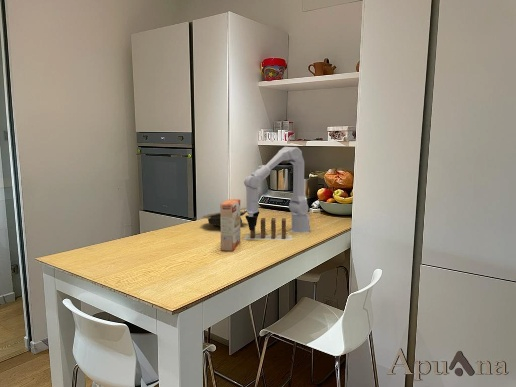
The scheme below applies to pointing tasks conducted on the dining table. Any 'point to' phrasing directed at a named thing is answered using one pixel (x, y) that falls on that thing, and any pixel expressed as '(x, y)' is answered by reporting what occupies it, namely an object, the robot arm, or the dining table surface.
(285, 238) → the tile
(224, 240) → the cracker box
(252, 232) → the brown wooden block
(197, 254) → the dining table surface
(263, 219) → the brown wooden block
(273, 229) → the brown wooden block
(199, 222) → the dining table surface
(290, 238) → the mat
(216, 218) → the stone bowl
